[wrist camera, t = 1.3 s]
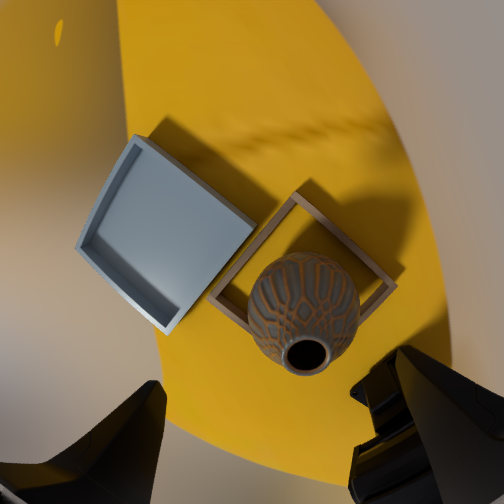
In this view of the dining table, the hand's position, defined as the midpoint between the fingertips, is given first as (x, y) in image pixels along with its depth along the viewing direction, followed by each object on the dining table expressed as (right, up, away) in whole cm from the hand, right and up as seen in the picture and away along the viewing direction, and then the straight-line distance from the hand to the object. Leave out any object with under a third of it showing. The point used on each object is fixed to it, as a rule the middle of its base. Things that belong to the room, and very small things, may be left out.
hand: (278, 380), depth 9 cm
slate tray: (-8, +6, +12) cm, 15 cm away
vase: (+3, +2, +11) cm, 12 cm away
